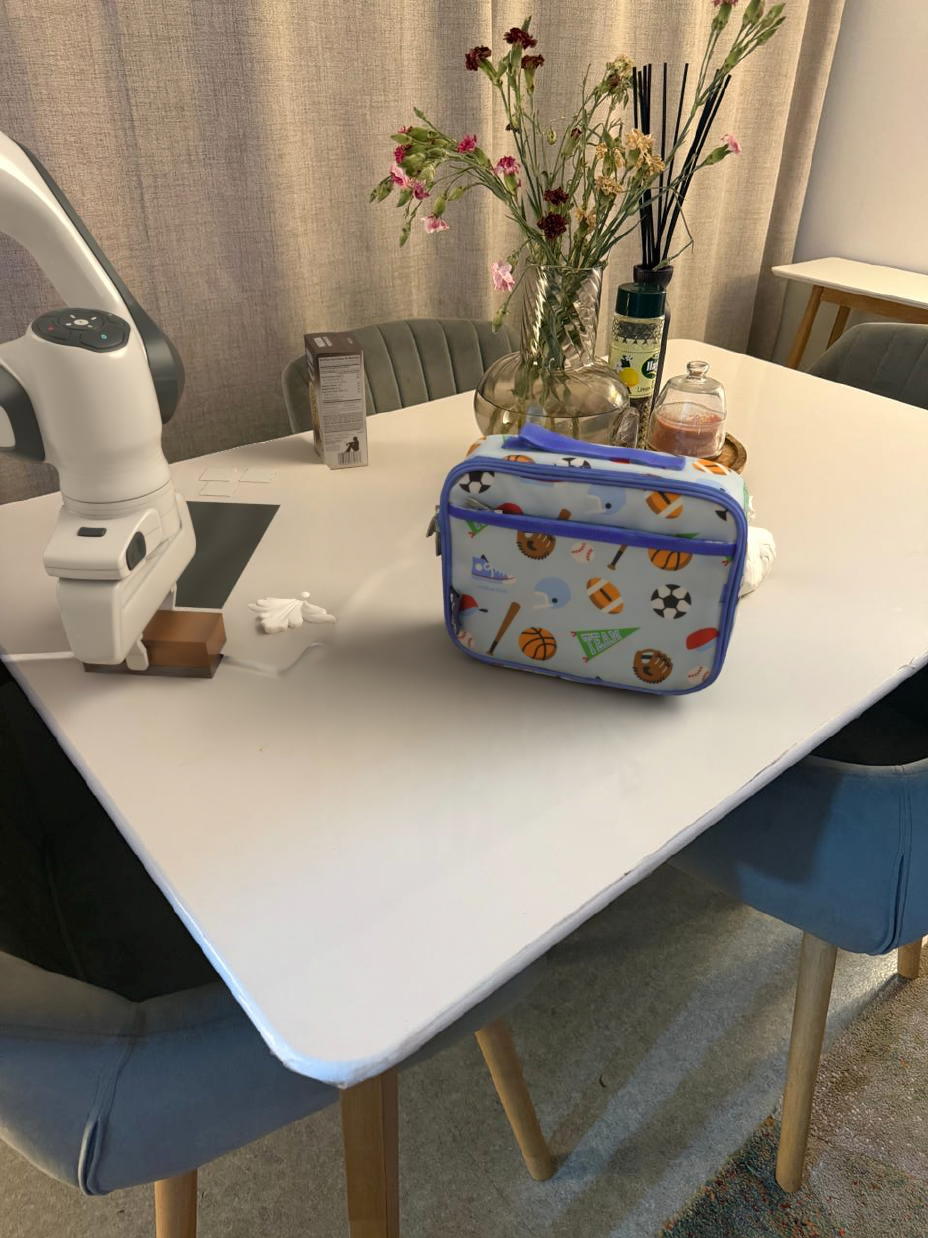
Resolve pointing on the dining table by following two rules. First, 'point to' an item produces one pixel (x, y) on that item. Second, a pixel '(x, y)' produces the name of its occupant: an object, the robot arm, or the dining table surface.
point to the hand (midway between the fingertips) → (153, 645)
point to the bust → (757, 554)
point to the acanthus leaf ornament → (288, 613)
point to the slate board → (220, 550)
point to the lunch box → (592, 560)
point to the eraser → (178, 645)
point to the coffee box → (337, 398)
